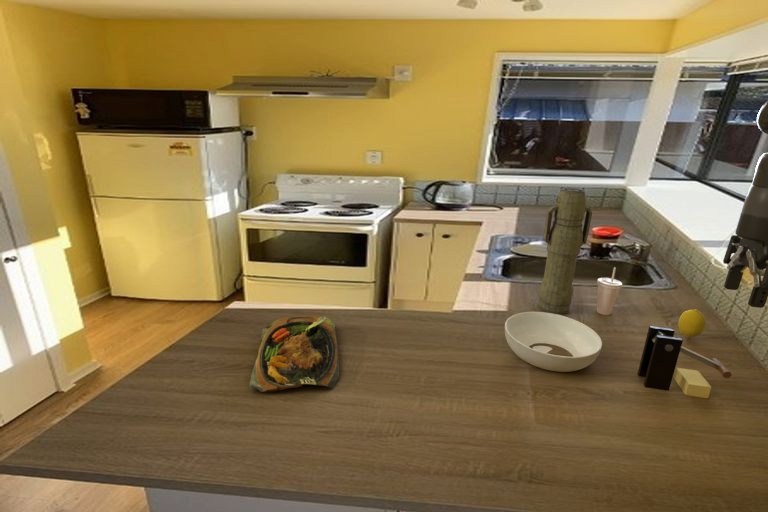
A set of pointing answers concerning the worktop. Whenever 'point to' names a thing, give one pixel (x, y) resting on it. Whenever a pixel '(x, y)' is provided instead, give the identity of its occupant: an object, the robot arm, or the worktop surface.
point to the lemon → (691, 323)
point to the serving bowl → (552, 340)
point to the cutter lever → (702, 358)
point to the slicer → (659, 358)
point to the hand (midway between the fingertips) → (742, 297)
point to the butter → (692, 382)
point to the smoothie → (607, 294)
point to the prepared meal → (296, 354)
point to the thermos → (563, 249)
